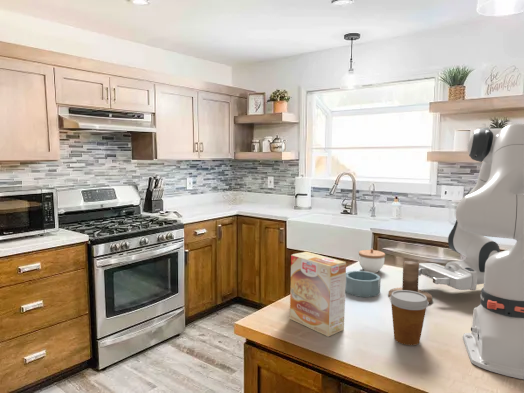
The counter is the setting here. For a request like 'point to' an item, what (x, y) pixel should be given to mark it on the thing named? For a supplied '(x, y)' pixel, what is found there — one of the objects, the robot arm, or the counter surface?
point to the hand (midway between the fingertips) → (424, 276)
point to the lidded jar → (371, 260)
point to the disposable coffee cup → (408, 315)
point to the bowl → (362, 283)
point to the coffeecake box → (318, 292)
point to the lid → (411, 279)
